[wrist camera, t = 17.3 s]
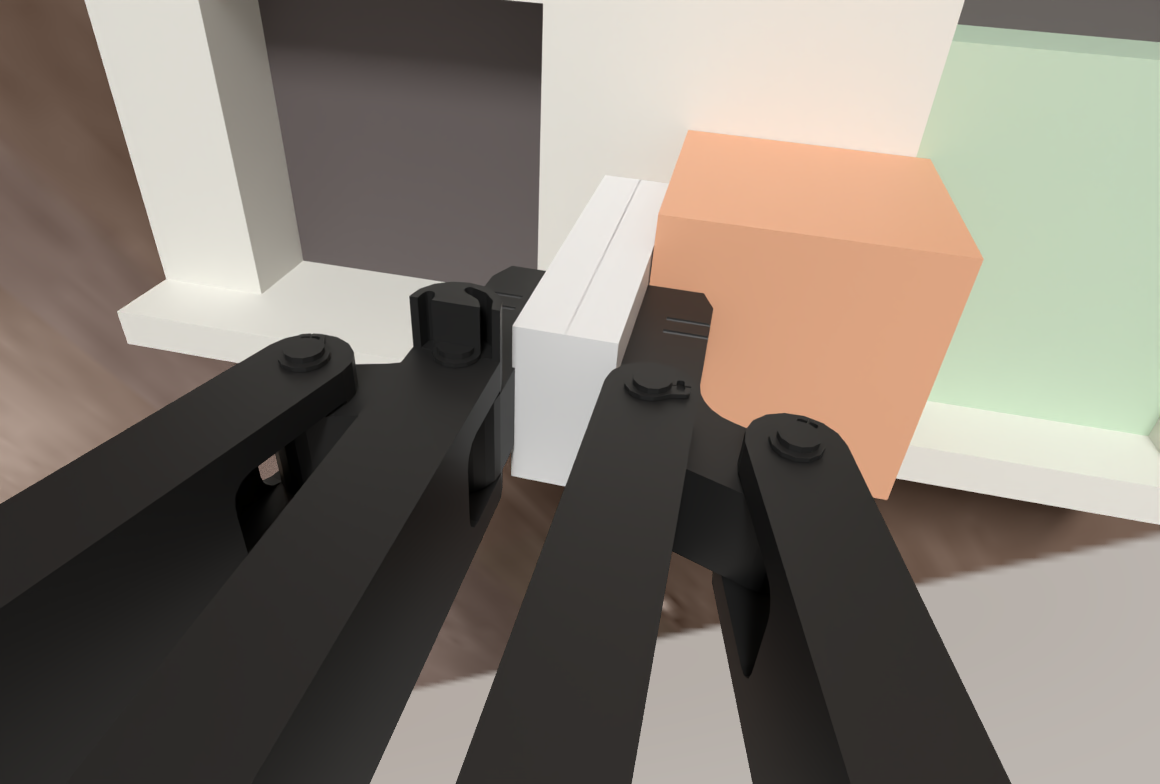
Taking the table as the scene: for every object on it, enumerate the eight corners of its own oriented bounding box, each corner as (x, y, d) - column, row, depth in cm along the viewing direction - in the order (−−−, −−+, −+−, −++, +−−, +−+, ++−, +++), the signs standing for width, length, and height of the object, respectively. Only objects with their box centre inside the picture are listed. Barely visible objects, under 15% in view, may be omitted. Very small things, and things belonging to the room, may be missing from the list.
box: (225, 273, 24) (127, 343, 21) (11, -613, 14) (-261, -785, 10) (1133, 415, 20) (1211, 533, 17) (1783, -676, 10) (2361, -993, 6)
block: (660, 330, 19) (628, 452, 15) (688, 130, 16) (658, 214, 12) (863, 362, 18) (887, 500, 14) (930, 159, 15) (984, 259, 11)
